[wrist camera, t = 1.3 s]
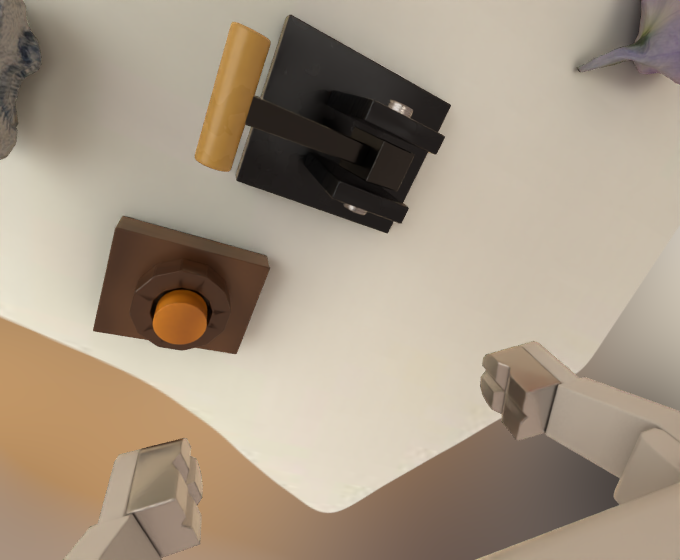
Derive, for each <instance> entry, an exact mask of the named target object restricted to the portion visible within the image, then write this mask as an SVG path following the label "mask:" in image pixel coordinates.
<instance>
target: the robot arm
mask: <svg viewBox="0 0 680 560" xmlns="http://www.w3.org/2000/svg"><path fill="white" fill-rule="evenodd" d="M482 366H483V367H484V368H485V369H486V371H485V372H484V373H483V375H482V376H481V381H480V387H481V391H482V395H483V397H484V399H485V401H486V403H487V404H488V405H489V406H490V408H491V409H492V410H494V411H496V412H498V413H500V414H502V423H503V424H504V426H505V427H506V428H507V429H508V431H510V433H511V434H512V435H513V437H514V438H515V439H516V440H517V441H520V440H523V439H526V438H530V437H533V436H537V435H540V434H543V433H545V435H547V436H548V437H550V438H552V439H553V440H555V441H557V442H558V443H560V444H562V445H564V446H565V447H567V448H569V449H570V450H572V451H574V452H576V453H577V454H579V455H581V456H583V457H584V458H586V459H588V460H589V461H591V462H593V463H595V464H596V465H598V466H600V467H601V468H603V469H605V470H607V471H608V472H610V473H612V474H613V475H615V476H617V477H619V478H620V480H619V482H618V485H617V487H616V489H615V492H614V499H615V500H616V501H617V502H618V503H619V505H618V506H616V507H613V508H611V509H608V510H605V511H603V512H600V513H598V514H595V515H592V516H589V517H587V518H584V519H582V520H579V521H577V522H574V523H571V524H569V525H566V526H563V527H561V528H558V529H555V530H553V531H550V532H547V533H545V534H542V535H539V536H537V537H534V538H531V539H529V540H526V541H524V542H521V543H518V544H516V545H513V546H510V547H508V548H505V549H503V550H500V551H497V552H495V553H492V554H489V555H487V556H484V557H481V558H479V559H476V560H680V411H678V410H675V409H672V408H670V407H667V406H664V405H661V404H658V403H656V402H653V401H650V400H647V399H644V398H642V397H639V396H636V395H633V394H631V393H628V392H625V391H622V390H619V389H617V388H613V387H611V386H608V385H605V384H603V383H600V382H597V381H594V380H591V379H589V378H586V377H583V378H579V377H578V376H577V375H575V374H574V373H573V372H572V371H571V370H570V369H568V368H567V367H566V366H565V365H564V364H563V363H561V362H560V361H559V360H558V359H557V358H556V357H555V356H553V355H552V354H551V353H550V352H549V351H548V350H546V349H545V348H544V347H543V346H542V345H541V344H539V343H538V342H535V341H532V342H529V343H525V344H521V345H518V346H514V347H510V348H507V349H503V350H500V351H497V352H493V353H490V354H486V355H485V357H484V358H483V363H482ZM190 454H191V446H190V444H189V442H188V440H187V438H182V439H178V440H175V441H171V442H167V443H162V444H159V445H154V446H151V447H146V448H142V449H140V450H136V451H132V452H128V453H124V454H120V455H119V456H118V457H117V459H116V460H115V462H114V466H113V469H112V473H111V477H110V480H109V484H108V488H107V492H106V495H105V499H104V503H103V506H102V510H101V514H100V517H99V521H98V524H96V525H93V526H90V527H89V529H88V530H87V531H86V532H85V534H84V535H83V536H82V537H81V538H80V540H79V541H78V542H77V543H76V545H75V546H74V547H73V548H72V549H71V551H70V552H69V553H68V554H67V555H66V557H65V558H64V559H63V560H162V559H161V558H163V557H166V556H169V555H172V554H174V553H177V552H180V551H183V550H185V549H188V548H191V547H194V546H197V545H199V544H200V535H201V514H200V512H199V510H198V508H197V505H198V503H199V502H200V500H201V499H202V477H201V471H200V467H199V464H198V462H197V459H196V458H194V457H192V456H190Z"/></svg>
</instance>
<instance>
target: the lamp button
mask: <svg viewBox="0 0 680 560" xmlns="http://www.w3.org/2000/svg"><path fill="white" fill-rule="evenodd" d="M206 327H207V305H206V302H205V301H204V299H203V298H202V297H201V296H200V295H198V294H197V293H195V292H193V291H190V290H183V289H181V290H174V291H171V292H168V293H166V294H165V295H163V296H162V297H161V298H160V300H159V301H158V303H157V306H156V310H155V314H154V318H153V328H154V331H155V333H156V334H157V335H158V336H159V337H160V338H161V339H162V340H164V341H166V342H168V343H172V344H188V343H191V342H194V341H195V340H197V339H199V338H200V337H201V336H202V335H203V334H204V332H205V330H206Z"/></svg>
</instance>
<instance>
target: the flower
mask: <svg viewBox="0 0 680 560" xmlns="http://www.w3.org/2000/svg"><path fill="white" fill-rule="evenodd" d="M626 60H632V61H634V64H635V66H636V68H637V70H638V71H639V72H640V73H641V74H652V73H661V74H664V75H665V76H666V77H669V78H670V79H671V80H672V81H674V82H675V83H677V84H680V0H642V1H641V19H640V26H639V34H638V36H637V38H636V40H635V42H634V44H632V45H629V46H625V47H620V48H617V49H614V50H612V51H610V52H608V53H606V54H604V55H601V56H599V57H596V58H594V59H592V60H591V61H589V62H588V63H586V64H584V65H582V66H579V67H577V69H578V71H579V72H585V71H589V70H593V69H598V68H602V67H606V66H611V65H615V64H618V63H621V62H623V61H626Z"/></svg>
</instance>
